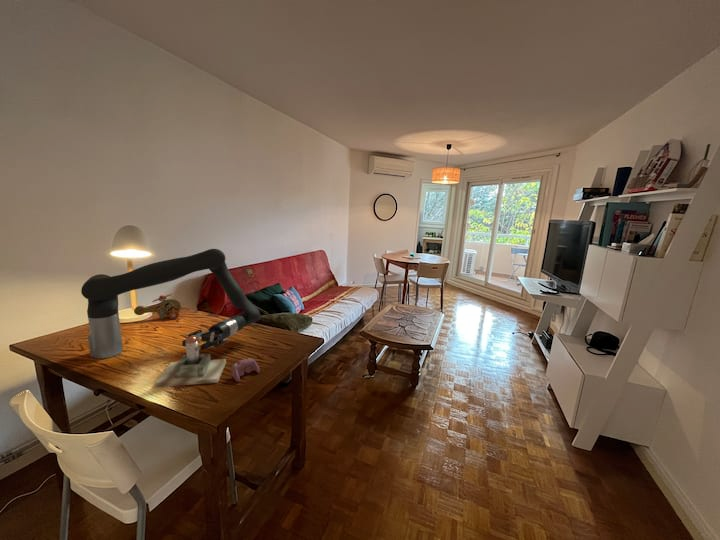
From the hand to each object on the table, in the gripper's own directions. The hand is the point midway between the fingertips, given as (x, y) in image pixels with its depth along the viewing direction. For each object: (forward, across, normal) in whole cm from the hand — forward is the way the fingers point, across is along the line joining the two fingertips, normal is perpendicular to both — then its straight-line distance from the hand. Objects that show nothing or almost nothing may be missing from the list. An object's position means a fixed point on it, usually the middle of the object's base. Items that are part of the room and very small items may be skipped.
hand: (192, 346), depth 106 cm
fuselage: (0, 0, +10) cm, 10 cm away
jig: (0, 0, +12) cm, 12 cm away
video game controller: (-7, +18, +12) cm, 23 cm away
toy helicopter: (-34, -58, +12) cm, 68 cm away
